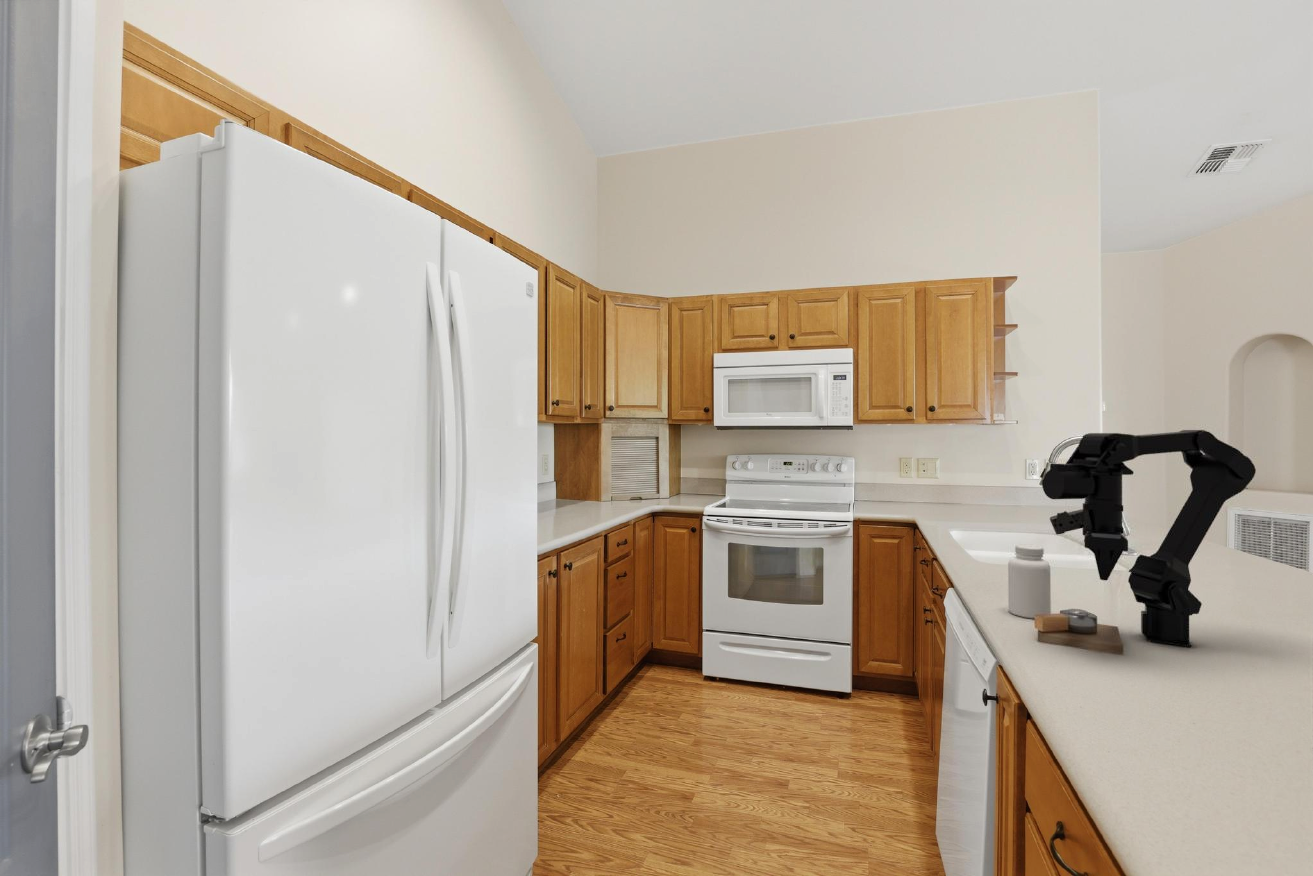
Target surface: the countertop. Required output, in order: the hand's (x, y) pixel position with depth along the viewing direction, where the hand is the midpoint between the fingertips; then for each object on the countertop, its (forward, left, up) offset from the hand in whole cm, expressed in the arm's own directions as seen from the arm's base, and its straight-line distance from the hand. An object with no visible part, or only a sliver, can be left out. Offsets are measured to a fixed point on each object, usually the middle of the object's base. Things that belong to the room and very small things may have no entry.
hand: (1103, 579), depth 113 cm
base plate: (+4, -1, -12) cm, 13 cm away
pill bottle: (+13, -13, -12) cm, 22 cm away
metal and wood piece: (+6, +1, -10) cm, 12 cm away
